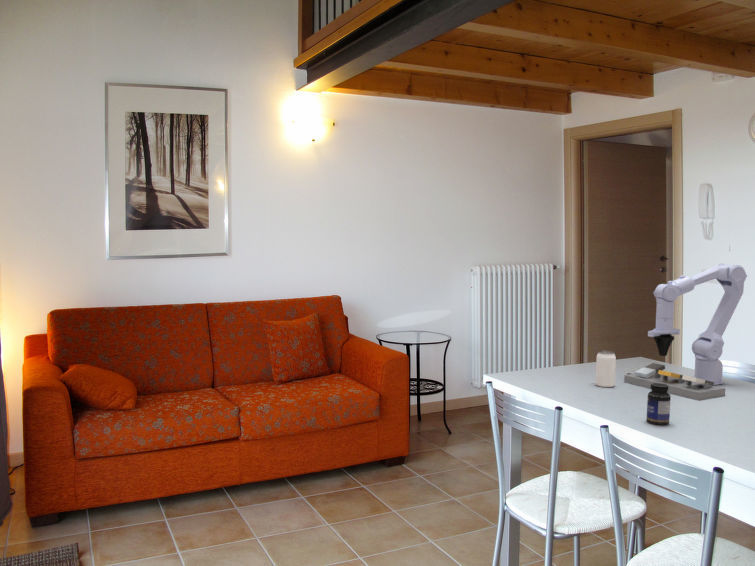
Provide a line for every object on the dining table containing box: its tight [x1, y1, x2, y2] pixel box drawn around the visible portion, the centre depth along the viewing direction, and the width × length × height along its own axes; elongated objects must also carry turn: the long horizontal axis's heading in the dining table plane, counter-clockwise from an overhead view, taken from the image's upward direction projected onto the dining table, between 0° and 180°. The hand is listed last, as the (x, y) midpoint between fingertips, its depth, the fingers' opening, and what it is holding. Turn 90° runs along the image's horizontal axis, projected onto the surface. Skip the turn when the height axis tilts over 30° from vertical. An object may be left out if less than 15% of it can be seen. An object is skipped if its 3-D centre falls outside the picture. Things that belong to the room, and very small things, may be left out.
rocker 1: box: [634, 362, 666, 378], centre depth 248 cm, size 10×5×1 cm, turn 119°
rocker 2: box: [658, 370, 684, 378], centre depth 240 cm, size 10×5×1 cm, turn 121°
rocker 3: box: [682, 374, 715, 386], centre depth 232 cm, size 10×5×1 cm, turn 121°
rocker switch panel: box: [623, 372, 726, 401], centre depth 242 cm, size 14×35×4 cm, turn 30°
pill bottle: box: [646, 383, 672, 426], centre depth 197 cm, size 6×6×11 cm
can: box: [595, 350, 617, 389], centre depth 243 cm, size 6×6×12 cm
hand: (662, 355), depth 246 cm, fingers closed
